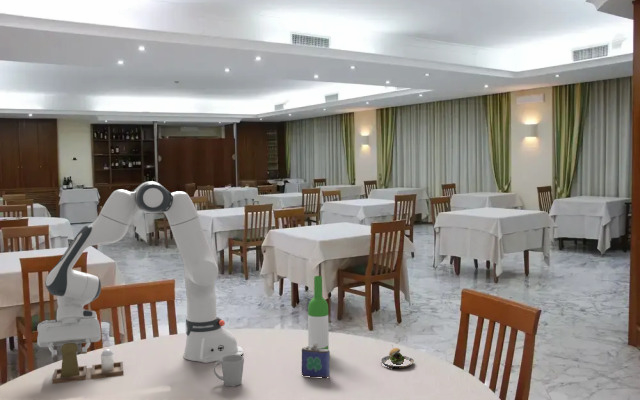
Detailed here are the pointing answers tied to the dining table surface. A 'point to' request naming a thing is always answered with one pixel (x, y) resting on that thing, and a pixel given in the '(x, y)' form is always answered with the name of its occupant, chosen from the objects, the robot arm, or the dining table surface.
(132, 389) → the dining table surface
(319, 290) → the wine bottle
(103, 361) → the salt cellar
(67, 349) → the olive green stopper
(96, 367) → the cruet board
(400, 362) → the burger
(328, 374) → the flask
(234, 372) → the cup
